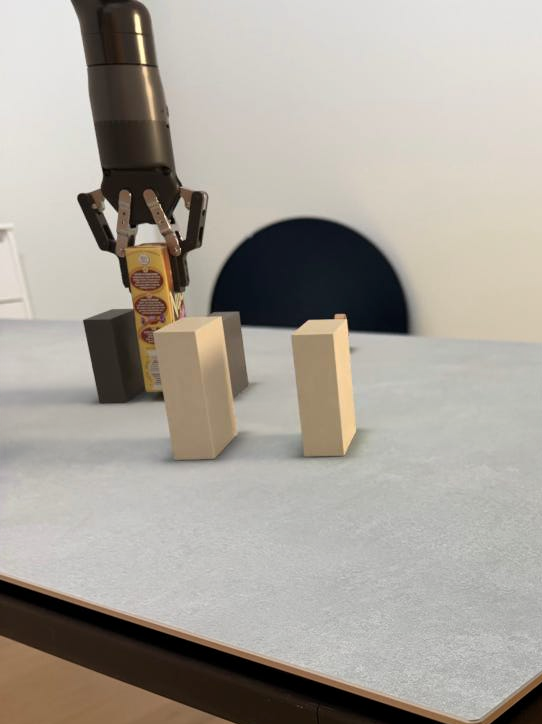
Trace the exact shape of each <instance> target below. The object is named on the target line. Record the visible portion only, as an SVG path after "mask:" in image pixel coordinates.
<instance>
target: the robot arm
mask: <svg viewBox="0 0 542 724" xmlns="http://www.w3.org/2000/svg"><path fill="white" fill-rule="evenodd" d="M70 3H71V5H72V8H73V11H74V12H75V15H76V17H77V21H78V24H79V31H80V36H81V41H82V47H83V53H84V59H85V64H86V65H85V67H87V68H86V72H87V90H88V99H89V104H90V110H91V111H90V112H91V115H92V122H93V127H94V133H95V139H96V145H97V150H98V156H99V162H100V168H101V172H102V180H101V182H100V188H98V189H95V190H92V191H90V192H80V193H79V194H77V195H76V201H77V204H78V205H79V207H80V210H81V212H82V214H83V216H84V219H85V220H86V222H87V225H88V227H89V229H90V231H91V233H92V236H93V238H94V240H95V242H96V245H97V246H98V248H99V250H100V251H103V252H108V253H110V254H113V255H115V256H116V257H117V260H118V262H119V263H118V264H119V269H120V275H121V282H122V285H123V287H124V288H125V289H128V293H130V294H131V289H130V282H129V275H128V269H127V262H126V255H125V249H124V248H125V247H131V246H136V237H137V235H138V232H139V226H140V225H145V224H148V225H152V226H153V225H156V226H157V228H158V231H159V233H160V234H161V236H162V237H163V240H164V242H166V243H167V246H168V248H169V250H170V252H171V256H172V257H169V260H170V266H171V273H172V280H173V287H174V292H175V293H182V292H183V293H185V292H186V287H189V286H190V282H191V280H190V274H189V265H188V260H187V259H188V258H187V257H188V254H189V253H190V252H193V251H194V250H197V249H201V248H202V246H203V240H204V234H205V226H206V220H207V212H208V206H209V205H208V204H209V194H208V193H207V192H206V191H204V190H195V189H193V188H188V187H185V186H183V184H182V181H181V180H180V179H179V177H178V174H177V169H176V162H175V155H174V148H173V141H172V134H171V133H172V132H171V127H170V120H169V117H170V112H169V106H168V104H167V99H166V92H165V87H164V85H163V81H162V77H161V73H160V68H159V59H158V53H157V45H156V39H155V31H154V26H153V21H152V17H151V14H150V11H149V9H148V8H147V6H146V5H145V3H143V2H141V1H140V0H70ZM181 198H182V200H183V202H184V208H185V209H186V210H187V211H189V212H188V218H187V225H186V226H187V227H186V235H185V239H184V238H183V235H182V233H181V228H180V225H179V223H178V221H177V219H176V218H177V217H175V214H174V213H175V211H176V208H177V205H178V204H179V202H180V200H181ZM105 200H106V201H107V202H108V203H109V205H110V206H111V207H112V208H113V210H115V212H116V213H117V218H116V219H117V221H116V229H115V230H116V231H115V232H116V239H115V235H114V234H113V232H112V229H111V227H110V225H109V222H108V220H107V218H106V216H105V213H104V211H105V210H106V205H105Z"/></svg>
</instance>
